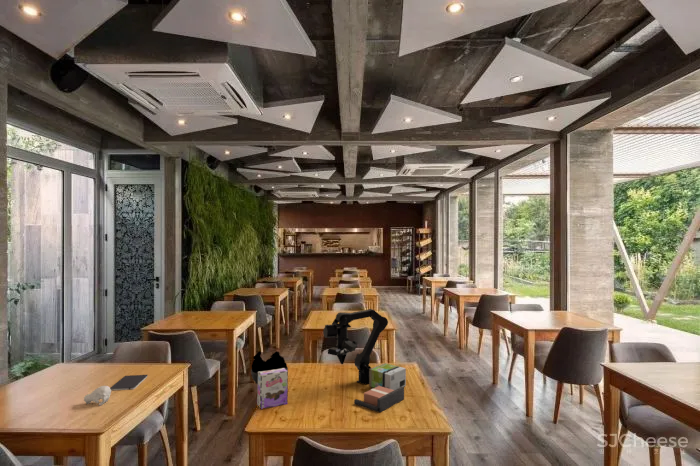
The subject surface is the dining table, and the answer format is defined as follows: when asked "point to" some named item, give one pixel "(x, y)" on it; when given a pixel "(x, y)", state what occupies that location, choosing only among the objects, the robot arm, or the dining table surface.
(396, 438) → the dining table surface
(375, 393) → the carton
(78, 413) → the dining table surface
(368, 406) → the display stand
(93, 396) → the grey rounded lump
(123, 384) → the notebook
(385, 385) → the tea box
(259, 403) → the candy box
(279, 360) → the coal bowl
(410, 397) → the dining table surface
